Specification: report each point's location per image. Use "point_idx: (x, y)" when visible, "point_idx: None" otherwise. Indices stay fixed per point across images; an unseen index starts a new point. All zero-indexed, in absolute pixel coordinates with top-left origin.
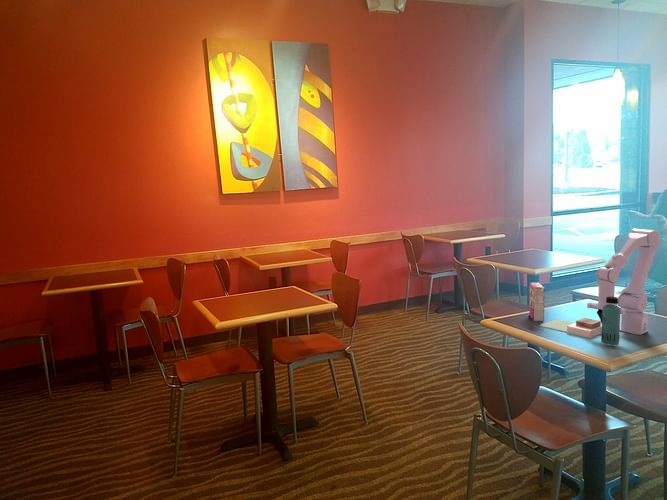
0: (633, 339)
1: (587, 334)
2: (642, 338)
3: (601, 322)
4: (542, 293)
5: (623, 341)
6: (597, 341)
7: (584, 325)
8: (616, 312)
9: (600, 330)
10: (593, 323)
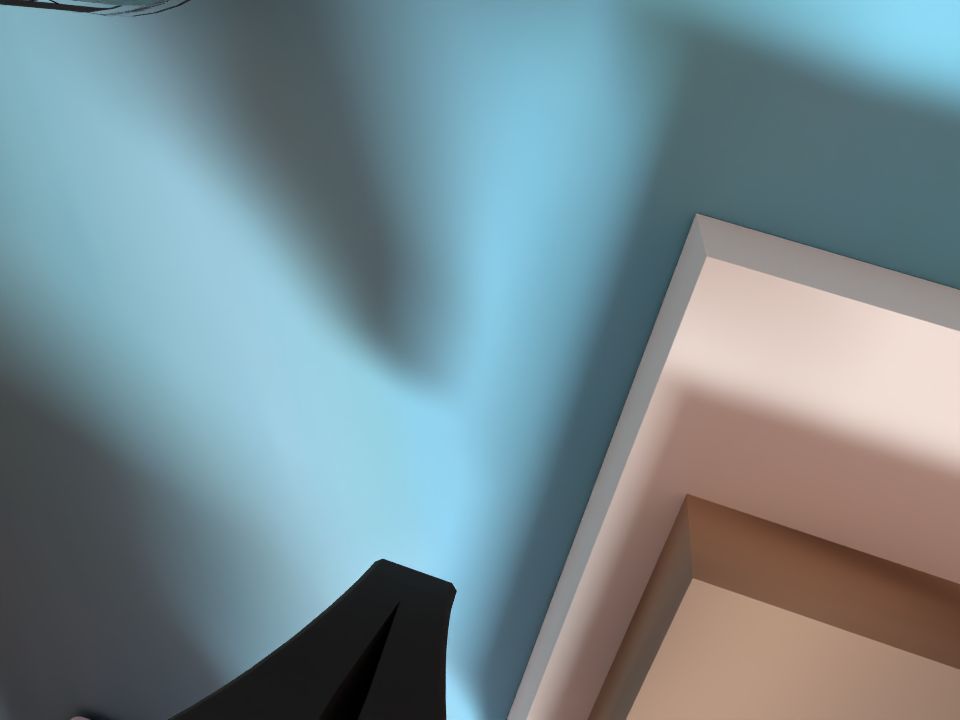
0: (62, 506)
1: (769, 247)
2: (4, 599)
3: (432, 675)
4: None
5: (121, 330)
6: (498, 45)
7: (923, 602)
8: None
9: (545, 639)
10: (673, 670)
